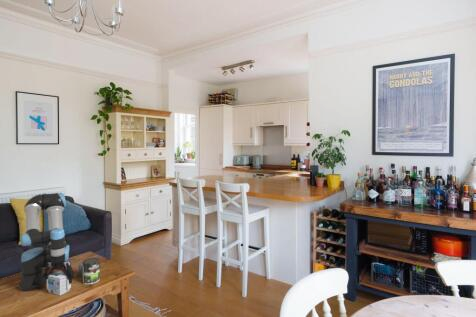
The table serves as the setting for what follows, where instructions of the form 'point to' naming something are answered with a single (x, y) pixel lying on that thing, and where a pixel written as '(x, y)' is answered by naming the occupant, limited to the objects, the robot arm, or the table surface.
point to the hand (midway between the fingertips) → (59, 288)
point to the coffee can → (91, 270)
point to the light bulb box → (57, 283)
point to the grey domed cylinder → (80, 269)
